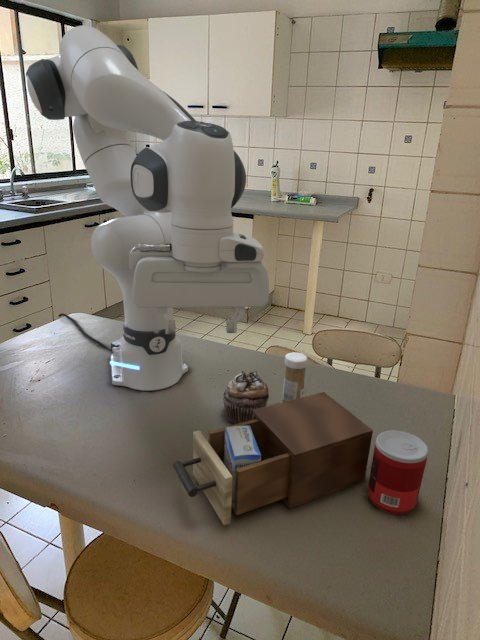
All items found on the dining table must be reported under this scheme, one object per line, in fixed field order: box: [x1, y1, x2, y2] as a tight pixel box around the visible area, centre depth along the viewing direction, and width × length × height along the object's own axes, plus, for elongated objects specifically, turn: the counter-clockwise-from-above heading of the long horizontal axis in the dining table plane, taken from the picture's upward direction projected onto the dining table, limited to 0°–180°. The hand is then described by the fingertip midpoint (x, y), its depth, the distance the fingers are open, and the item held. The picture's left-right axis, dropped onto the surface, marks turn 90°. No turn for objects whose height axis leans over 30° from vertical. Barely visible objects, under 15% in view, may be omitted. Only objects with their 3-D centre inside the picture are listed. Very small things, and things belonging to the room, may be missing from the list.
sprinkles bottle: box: [282, 351, 308, 402], centre depth 98 cm, size 5×5×14 cm
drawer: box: [172, 419, 292, 526], centre depth 75 cm, size 19×12×9 cm, turn 117°
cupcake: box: [222, 370, 270, 425], centre depth 97 cm, size 10×10×10 cm
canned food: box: [367, 429, 429, 515], centre depth 75 cm, size 8×8×11 cm
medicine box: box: [223, 426, 261, 501], centre depth 75 cm, size 8×4×9 cm, turn 12°
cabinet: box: [252, 391, 374, 510], centre depth 81 cm, size 16×14×11 cm
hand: (201, 332), depth 72 cm, fingers open, 8 cm apart
